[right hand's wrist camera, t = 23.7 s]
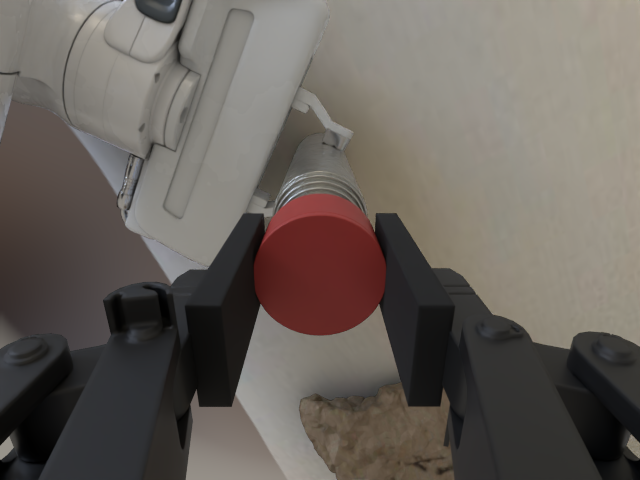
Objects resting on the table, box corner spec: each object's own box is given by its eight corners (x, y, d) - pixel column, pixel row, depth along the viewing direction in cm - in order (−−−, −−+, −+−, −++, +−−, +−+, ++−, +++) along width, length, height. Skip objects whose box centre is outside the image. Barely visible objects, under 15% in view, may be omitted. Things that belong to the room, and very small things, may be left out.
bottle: (303, 126, 33) (274, 185, 12) (351, 142, 33) (408, 229, 12) (288, 174, 34) (238, 305, 13) (335, 189, 35) (358, 339, 14)
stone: (322, 503, 45) (329, 549, 39) (295, 388, 43) (298, 419, 37) (487, 454, 47) (518, 492, 41) (468, 343, 45) (497, 365, 39)
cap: (258, 195, 14) (245, 217, 11) (376, 190, 14) (388, 211, 11) (269, 299, 15) (259, 338, 13) (375, 294, 15) (386, 333, 13)
